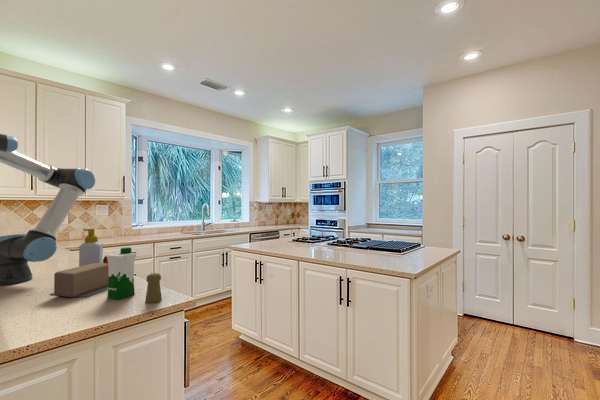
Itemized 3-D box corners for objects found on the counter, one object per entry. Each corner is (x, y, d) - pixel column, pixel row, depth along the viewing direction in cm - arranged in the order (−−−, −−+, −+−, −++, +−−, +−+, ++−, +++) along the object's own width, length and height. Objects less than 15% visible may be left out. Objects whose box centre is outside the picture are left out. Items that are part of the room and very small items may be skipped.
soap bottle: (83, 274, 157) (83, 228, 157) (102, 273, 161) (103, 227, 161) (78, 279, 149) (78, 230, 149) (99, 277, 153) (99, 229, 153)
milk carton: (138, 294, 125) (138, 248, 125) (118, 301, 117) (119, 251, 117) (123, 292, 128) (123, 246, 128) (103, 298, 120) (103, 250, 120)
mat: (86, 283, 142) (86, 282, 142) (119, 284, 139) (119, 283, 139) (50, 294, 124) (50, 293, 124) (87, 297, 121) (87, 295, 121)
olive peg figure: (145, 304, 113) (145, 276, 113) (145, 299, 119) (145, 272, 119) (162, 302, 116) (162, 274, 116) (161, 297, 121) (161, 271, 121)
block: (73, 273, 119) (113, 263, 138) (53, 272, 121) (95, 262, 140) (72, 298, 119) (113, 284, 138) (52, 296, 121) (95, 283, 140)
